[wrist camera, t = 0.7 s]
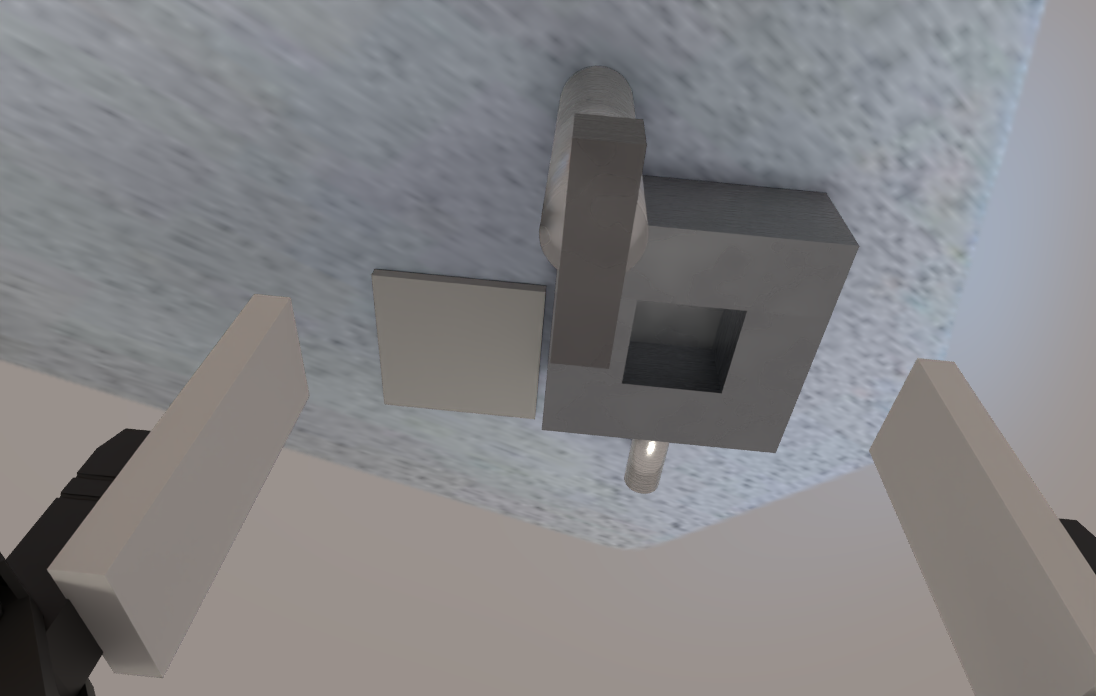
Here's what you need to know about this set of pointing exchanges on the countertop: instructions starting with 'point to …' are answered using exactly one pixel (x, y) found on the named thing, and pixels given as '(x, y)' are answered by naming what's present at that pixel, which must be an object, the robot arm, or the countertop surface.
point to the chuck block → (710, 323)
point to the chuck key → (593, 212)
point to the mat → (459, 342)
